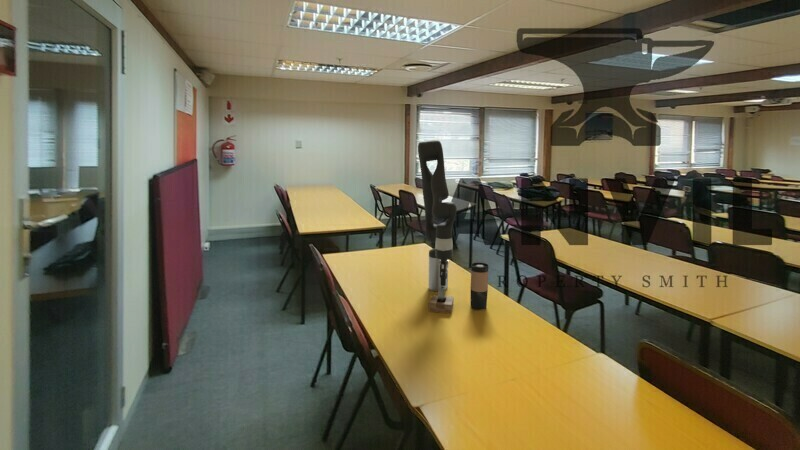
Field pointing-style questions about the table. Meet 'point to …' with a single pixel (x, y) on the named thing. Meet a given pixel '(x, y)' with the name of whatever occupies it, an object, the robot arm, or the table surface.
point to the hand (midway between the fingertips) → (443, 282)
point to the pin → (441, 294)
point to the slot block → (441, 304)
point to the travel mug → (479, 285)
